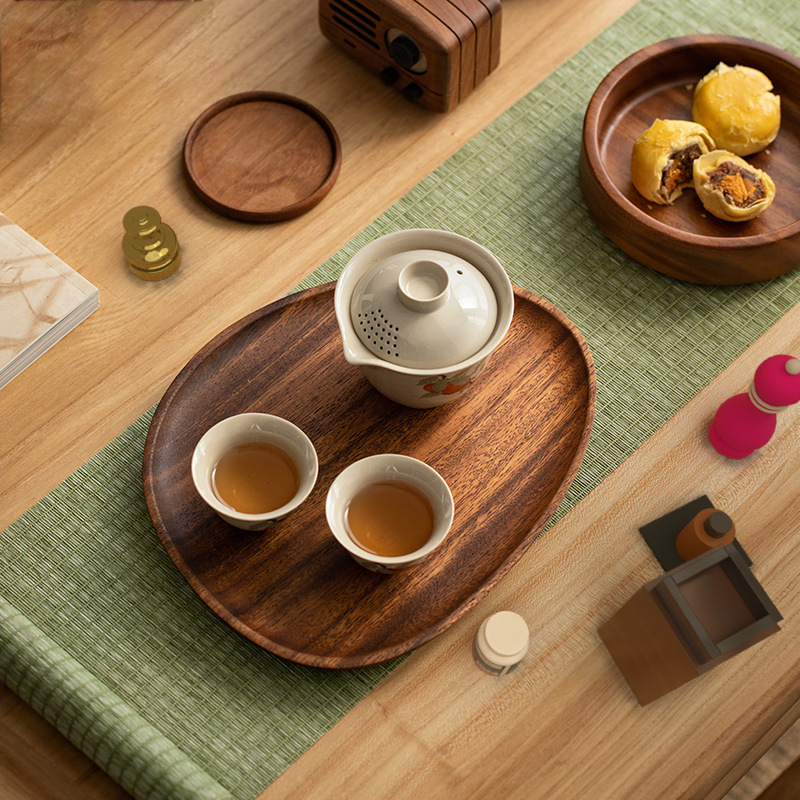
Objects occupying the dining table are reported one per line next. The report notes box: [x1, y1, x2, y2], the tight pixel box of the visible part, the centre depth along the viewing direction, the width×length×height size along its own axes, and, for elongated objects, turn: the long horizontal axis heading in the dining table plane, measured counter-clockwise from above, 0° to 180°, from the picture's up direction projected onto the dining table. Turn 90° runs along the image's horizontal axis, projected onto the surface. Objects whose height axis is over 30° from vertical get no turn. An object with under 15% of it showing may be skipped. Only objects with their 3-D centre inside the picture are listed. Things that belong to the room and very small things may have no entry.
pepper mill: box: [708, 353, 800, 460], centre depth 110 cm, size 7×7×20 cm
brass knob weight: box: [121, 204, 182, 282], centre depth 124 cm, size 7×7×10 cm
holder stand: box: [596, 543, 785, 708], centre depth 96 cm, size 10×10×23 cm
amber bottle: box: [676, 507, 737, 562], centre depth 108 cm, size 5×5×9 cm
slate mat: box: [638, 494, 754, 573], centre depth 112 cm, size 10×10×1 cm
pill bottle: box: [471, 610, 531, 677], centre depth 101 cm, size 6×6×10 cm
